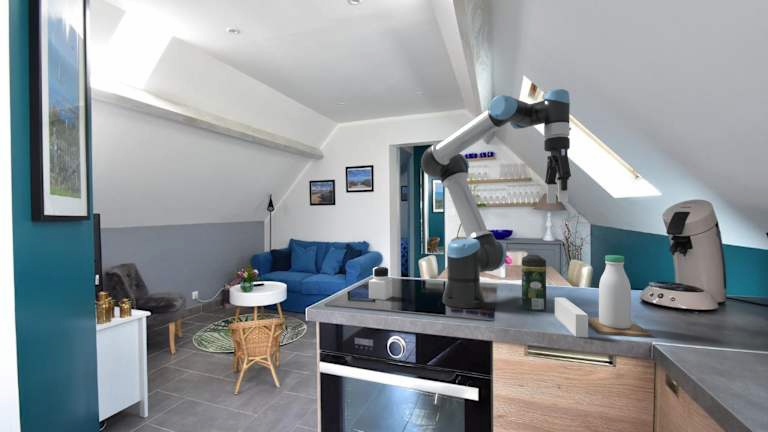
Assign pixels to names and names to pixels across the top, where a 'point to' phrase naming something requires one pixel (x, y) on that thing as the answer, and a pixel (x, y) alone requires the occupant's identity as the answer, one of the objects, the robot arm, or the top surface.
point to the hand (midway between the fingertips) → (556, 202)
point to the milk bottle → (615, 294)
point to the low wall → (571, 317)
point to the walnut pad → (605, 330)
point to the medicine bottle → (380, 284)
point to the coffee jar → (534, 283)
